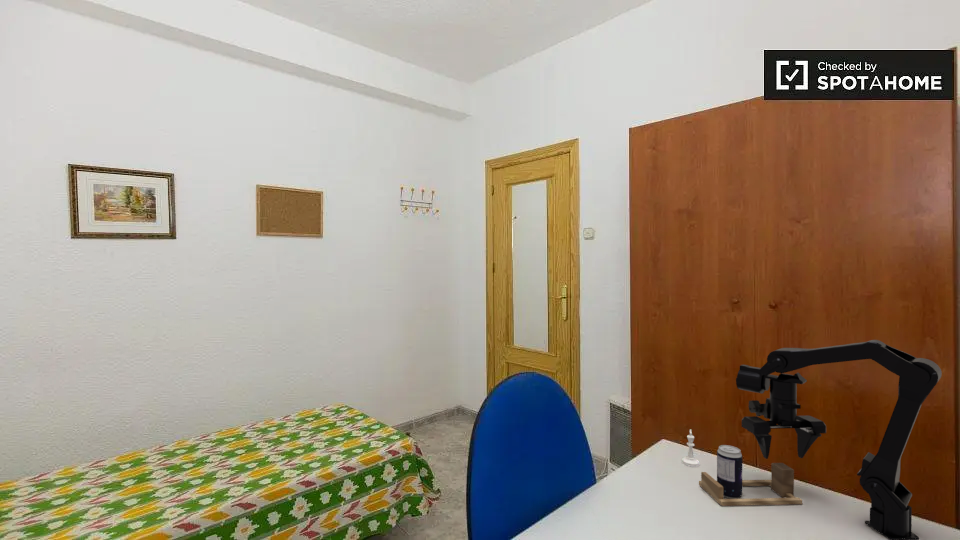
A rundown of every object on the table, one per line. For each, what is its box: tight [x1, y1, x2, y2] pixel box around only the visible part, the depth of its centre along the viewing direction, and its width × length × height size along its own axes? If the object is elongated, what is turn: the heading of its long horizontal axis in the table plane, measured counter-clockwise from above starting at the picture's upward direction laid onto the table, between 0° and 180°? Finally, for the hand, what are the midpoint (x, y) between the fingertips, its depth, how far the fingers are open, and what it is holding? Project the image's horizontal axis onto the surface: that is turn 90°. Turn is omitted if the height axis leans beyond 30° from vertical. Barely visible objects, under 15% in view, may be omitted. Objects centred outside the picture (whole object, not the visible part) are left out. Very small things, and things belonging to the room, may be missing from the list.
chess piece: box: [681, 429, 701, 468], centre depth 132 cm, size 5×5×10 cm
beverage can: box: [716, 444, 743, 499], centre depth 113 cm, size 6×6×12 cm
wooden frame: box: [698, 462, 803, 507], centre depth 113 cm, size 21×10×7 cm, turn 92°
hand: (783, 457), depth 113 cm, fingers open, 9 cm apart
